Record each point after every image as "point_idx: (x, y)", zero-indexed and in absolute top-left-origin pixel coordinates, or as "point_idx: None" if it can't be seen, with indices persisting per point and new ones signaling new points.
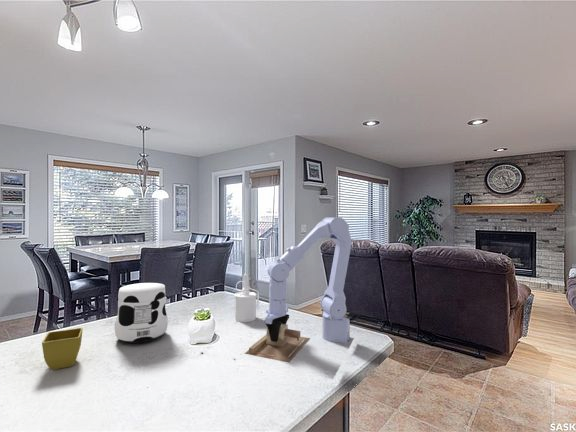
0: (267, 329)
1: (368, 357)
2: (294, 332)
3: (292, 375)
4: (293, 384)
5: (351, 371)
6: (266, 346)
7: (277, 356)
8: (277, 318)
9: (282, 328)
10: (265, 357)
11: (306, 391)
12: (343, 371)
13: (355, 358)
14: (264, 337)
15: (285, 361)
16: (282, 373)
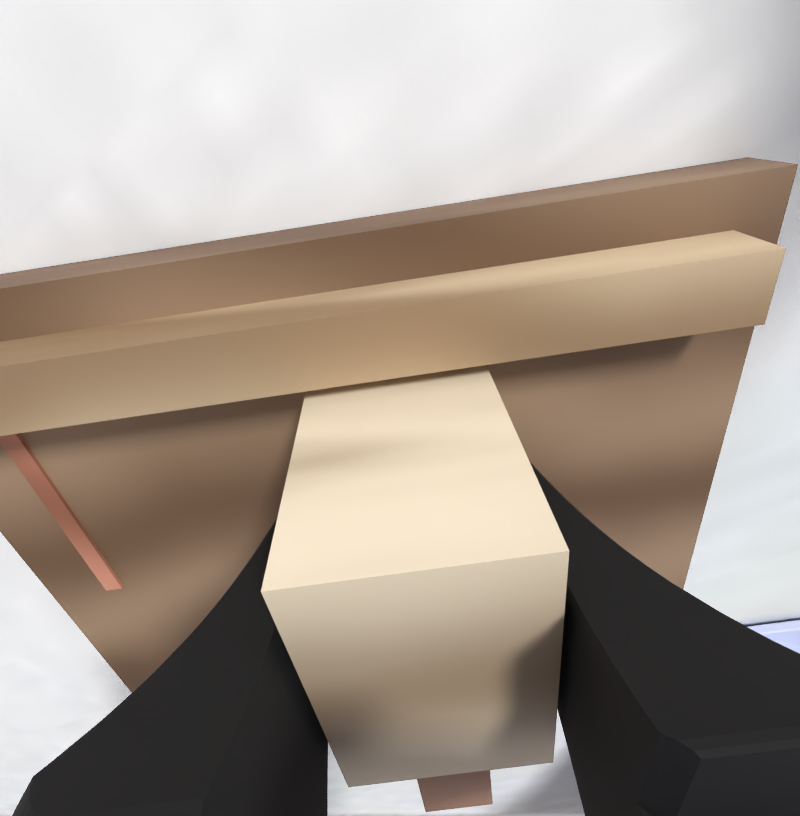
0: (283, 536)
1: (546, 809)
2: (419, 786)
3: (86, 698)
4: (15, 732)
5: (355, 810)
6: (237, 422)
7: (138, 606)
8: (617, 752)
9: (345, 777)
10: (22, 550)
11: (27, 778)
12: (332, 797)
13: (506, 789)
14: (338, 347)
15: (121, 676)
16: (48, 659)
